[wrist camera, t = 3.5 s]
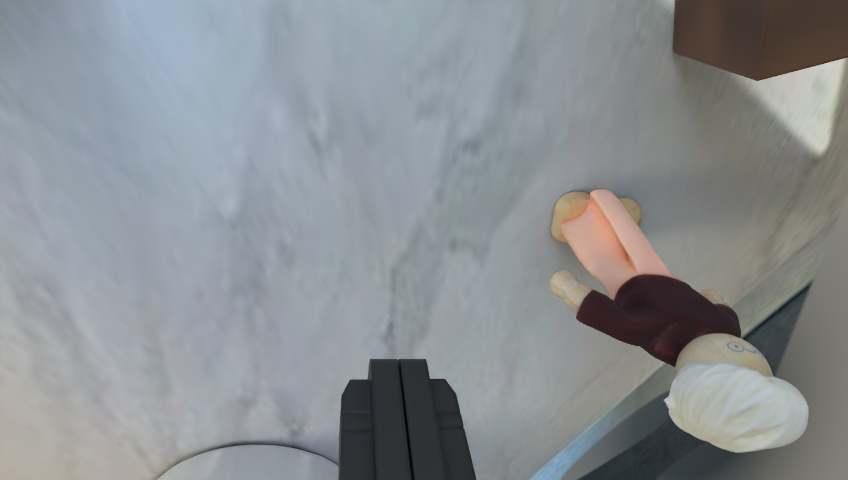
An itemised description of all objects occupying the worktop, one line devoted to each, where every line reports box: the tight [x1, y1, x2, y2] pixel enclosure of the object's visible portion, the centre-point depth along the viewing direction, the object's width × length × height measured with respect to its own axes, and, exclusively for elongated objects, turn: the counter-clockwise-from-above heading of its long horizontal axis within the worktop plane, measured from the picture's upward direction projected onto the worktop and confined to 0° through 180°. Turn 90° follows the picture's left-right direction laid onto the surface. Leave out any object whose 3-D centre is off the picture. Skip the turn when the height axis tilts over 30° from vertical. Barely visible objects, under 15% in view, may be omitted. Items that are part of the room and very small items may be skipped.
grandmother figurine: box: [549, 189, 809, 452], centre depth 18 cm, size 8×4×13 cm, turn 87°
